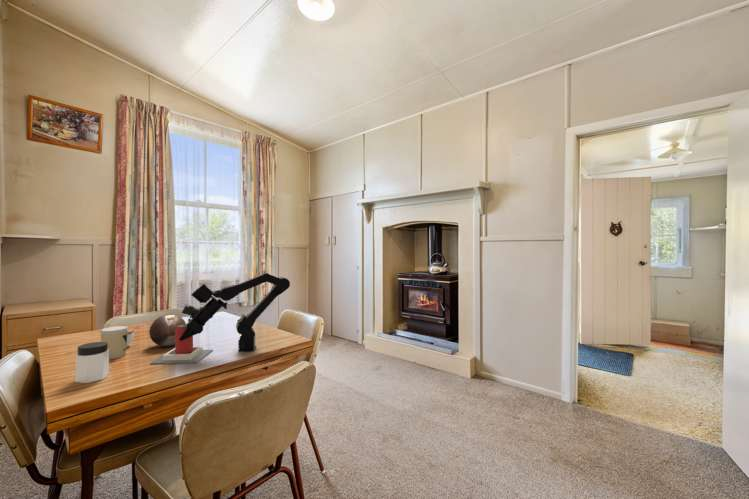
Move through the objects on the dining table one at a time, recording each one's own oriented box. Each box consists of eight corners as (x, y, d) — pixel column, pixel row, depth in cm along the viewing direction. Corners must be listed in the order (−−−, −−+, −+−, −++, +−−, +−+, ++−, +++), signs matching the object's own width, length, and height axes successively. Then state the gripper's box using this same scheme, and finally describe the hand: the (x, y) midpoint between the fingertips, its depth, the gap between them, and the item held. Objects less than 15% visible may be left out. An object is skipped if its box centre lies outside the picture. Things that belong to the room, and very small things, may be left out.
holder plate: (212, 350, 146) (212, 344, 146) (197, 363, 130) (197, 356, 130) (170, 351, 144) (170, 345, 144) (150, 364, 128) (150, 357, 128)
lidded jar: (104, 346, 150) (104, 327, 150) (133, 342, 157) (133, 323, 157) (104, 352, 142) (104, 331, 142) (134, 348, 149) (134, 328, 149)
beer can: (196, 352, 138) (196, 324, 138) (181, 356, 133) (181, 327, 133) (186, 350, 141) (186, 322, 141) (171, 354, 135) (171, 326, 135)
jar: (106, 372, 120) (106, 340, 120) (111, 377, 114) (111, 344, 114) (73, 379, 113) (74, 345, 113) (77, 385, 108) (77, 350, 108)
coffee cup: (129, 356, 138) (130, 328, 138) (101, 361, 131) (101, 332, 131) (125, 351, 144) (125, 324, 144) (98, 356, 137) (98, 328, 137)
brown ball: (158, 352, 143) (159, 319, 143) (143, 347, 151) (143, 315, 151) (192, 344, 155) (193, 313, 155) (176, 339, 163) (177, 310, 163)
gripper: (195, 295, 147) (167, 321, 142) (193, 301, 130) (161, 331, 125) (214, 310, 151) (187, 337, 146) (215, 318, 134) (184, 348, 129)
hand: (180, 338), depth 136 cm, fingers closed on beer can, 7 cm apart
